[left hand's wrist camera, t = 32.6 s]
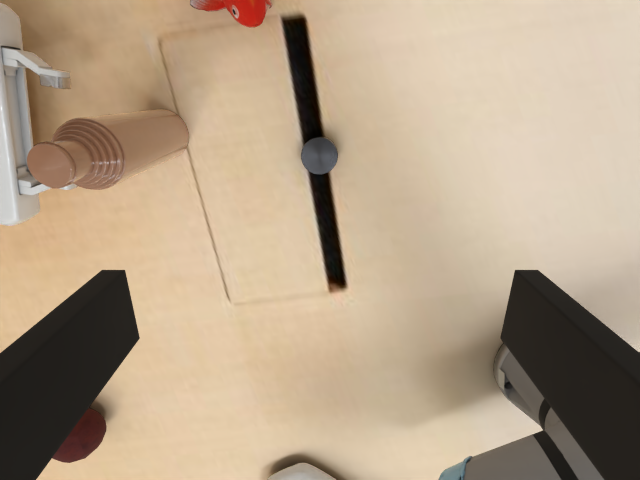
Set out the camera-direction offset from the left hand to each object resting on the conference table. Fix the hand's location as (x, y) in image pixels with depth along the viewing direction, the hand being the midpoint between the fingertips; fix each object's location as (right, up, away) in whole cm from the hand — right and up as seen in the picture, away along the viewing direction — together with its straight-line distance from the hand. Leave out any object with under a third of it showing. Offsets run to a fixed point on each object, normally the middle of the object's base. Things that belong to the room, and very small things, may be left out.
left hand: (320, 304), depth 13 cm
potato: (-35, -24, +44) cm, 62 cm away
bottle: (-17, +14, +29) cm, 37 cm away
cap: (0, +12, +29) cm, 31 cm away
